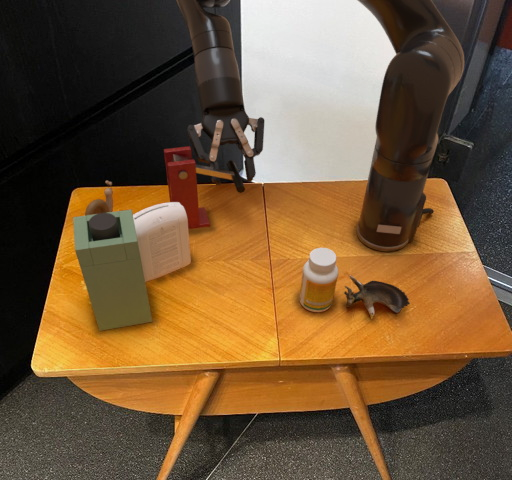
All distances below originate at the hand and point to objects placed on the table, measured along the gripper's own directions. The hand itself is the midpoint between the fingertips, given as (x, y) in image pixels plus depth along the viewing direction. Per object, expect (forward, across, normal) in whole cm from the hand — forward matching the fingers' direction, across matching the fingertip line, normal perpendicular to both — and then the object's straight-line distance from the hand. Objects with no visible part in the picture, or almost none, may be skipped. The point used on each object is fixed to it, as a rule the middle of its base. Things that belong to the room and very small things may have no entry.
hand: (234, 182), depth 96 cm
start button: (+9, -22, -19) cm, 31 cm away
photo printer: (+14, -15, -4) cm, 21 cm away
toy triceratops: (+25, +16, -15) cm, 33 cm away
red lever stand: (+6, -9, +4) cm, 12 cm away
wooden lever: (-1, -5, -2) cm, 6 cm away
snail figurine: (+8, -23, +1) cm, 25 cm away
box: (+19, -22, -9) cm, 31 cm away
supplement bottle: (+23, +8, -13) cm, 27 cm away
